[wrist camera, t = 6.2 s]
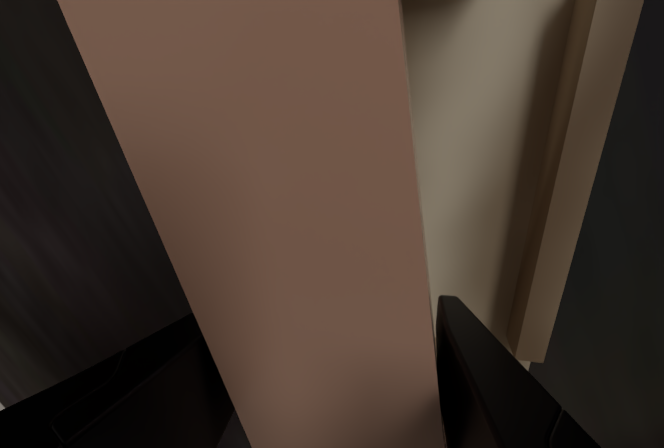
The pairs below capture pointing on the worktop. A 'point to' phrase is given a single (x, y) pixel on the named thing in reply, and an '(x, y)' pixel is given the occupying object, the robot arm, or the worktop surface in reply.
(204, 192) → the pinkish brown block
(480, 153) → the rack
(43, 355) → the worktop surface
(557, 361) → the worktop surface
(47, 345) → the worktop surface
